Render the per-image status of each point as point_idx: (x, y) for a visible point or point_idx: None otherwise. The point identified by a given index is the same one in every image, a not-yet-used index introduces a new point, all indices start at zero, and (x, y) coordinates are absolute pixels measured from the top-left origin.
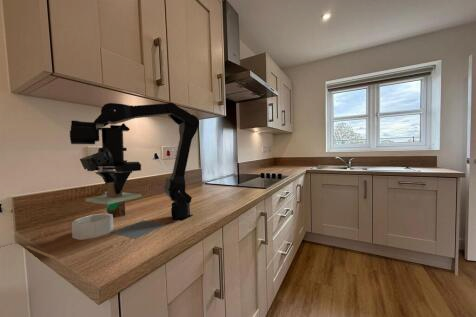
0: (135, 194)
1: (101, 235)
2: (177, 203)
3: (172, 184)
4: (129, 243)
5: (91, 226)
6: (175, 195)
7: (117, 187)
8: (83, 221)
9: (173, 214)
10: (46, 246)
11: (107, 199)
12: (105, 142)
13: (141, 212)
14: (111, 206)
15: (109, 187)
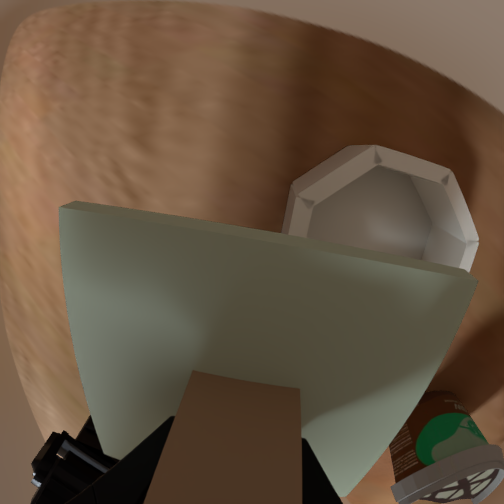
0: None
1: (286, 210)
2: (61, 434)
3: (35, 499)
4: (96, 186)
5: (312, 180)
6: (44, 455)
7: (121, 463)
8: (450, 252)
9: None
10: (443, 89)
11: (160, 294)
12: None
13: None
14: (445, 428)
15: (232, 475)
